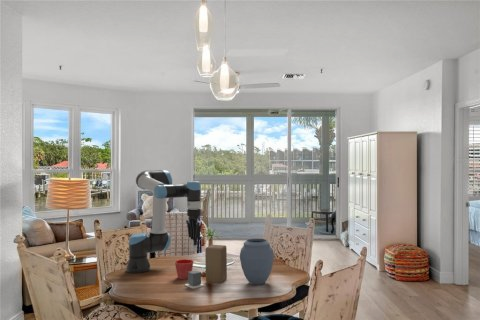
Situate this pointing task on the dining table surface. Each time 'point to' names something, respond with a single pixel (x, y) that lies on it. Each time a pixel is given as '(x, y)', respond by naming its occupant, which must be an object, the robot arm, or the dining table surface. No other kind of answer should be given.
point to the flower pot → (183, 268)
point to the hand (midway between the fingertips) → (194, 250)
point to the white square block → (194, 286)
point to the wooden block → (216, 263)
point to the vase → (256, 260)
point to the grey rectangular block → (194, 278)
